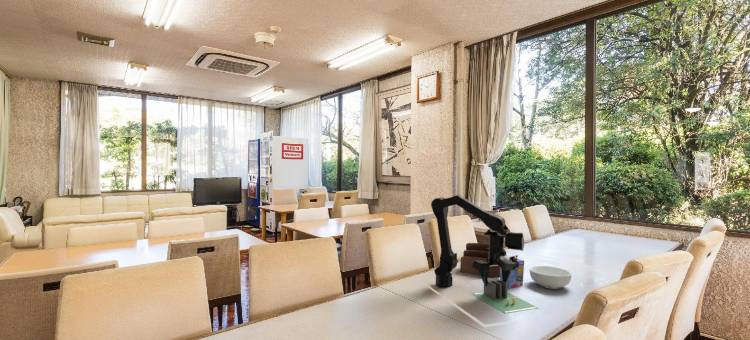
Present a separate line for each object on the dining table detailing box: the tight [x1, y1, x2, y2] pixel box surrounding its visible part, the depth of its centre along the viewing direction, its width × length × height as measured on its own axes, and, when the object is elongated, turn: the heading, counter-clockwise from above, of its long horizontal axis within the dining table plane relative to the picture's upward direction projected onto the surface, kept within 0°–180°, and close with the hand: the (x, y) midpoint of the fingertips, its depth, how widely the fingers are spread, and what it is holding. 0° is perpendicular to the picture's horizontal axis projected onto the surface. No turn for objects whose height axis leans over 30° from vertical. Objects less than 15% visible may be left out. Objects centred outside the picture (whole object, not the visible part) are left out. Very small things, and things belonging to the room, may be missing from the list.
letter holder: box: [459, 242, 506, 279], centre depth 176 cm, size 10×20×14 cm, turn 59°
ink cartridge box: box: [499, 254, 525, 289], centre depth 156 cm, size 10×6×14 cm, turn 118°
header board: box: [471, 291, 540, 314], centre depth 138 cm, size 16×20×3 cm
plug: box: [483, 277, 508, 300], centre depth 142 cm, size 6×6×6 cm
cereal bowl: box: [529, 265, 572, 290], centre depth 158 cm, size 17×17×7 cm
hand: (495, 285), depth 142 cm, fingers open, 9 cm apart
